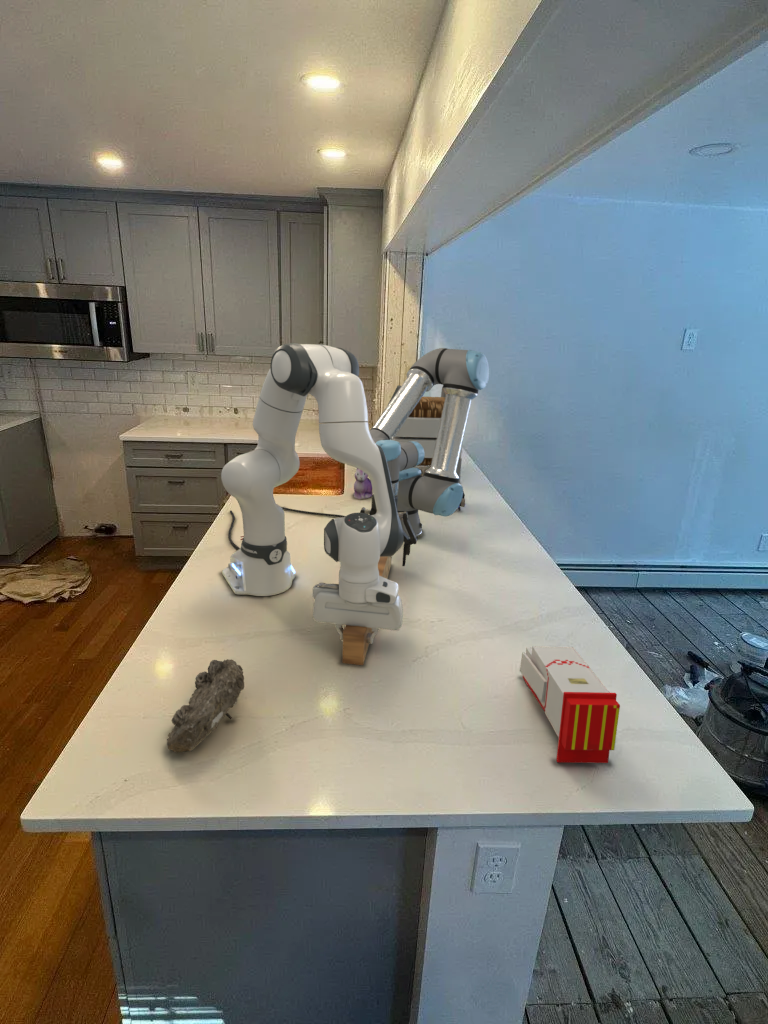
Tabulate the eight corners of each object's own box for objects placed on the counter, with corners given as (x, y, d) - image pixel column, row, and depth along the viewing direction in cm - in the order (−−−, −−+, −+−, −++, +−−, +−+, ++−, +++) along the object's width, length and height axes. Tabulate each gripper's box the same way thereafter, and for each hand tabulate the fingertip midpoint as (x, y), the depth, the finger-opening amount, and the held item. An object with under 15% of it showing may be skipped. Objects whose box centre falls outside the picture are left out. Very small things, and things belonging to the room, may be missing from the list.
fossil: (192, 660, 117) (244, 628, 112) (224, 691, 120) (276, 661, 115) (142, 746, 98) (202, 712, 93) (182, 779, 101) (242, 748, 96)
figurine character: (465, 515, 224) (460, 499, 237) (467, 498, 221) (462, 483, 234) (448, 515, 224) (444, 499, 237) (450, 498, 220) (445, 482, 234)
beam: (376, 563, 176) (376, 540, 173) (391, 565, 175) (392, 542, 173) (342, 663, 126) (342, 632, 124) (363, 665, 126) (364, 635, 123)
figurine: (357, 501, 231) (358, 465, 226) (347, 493, 240) (348, 459, 235) (378, 498, 235) (379, 463, 230) (367, 491, 244) (368, 457, 239)
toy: (568, 628, 125) (630, 701, 96) (562, 684, 128) (620, 770, 99) (514, 627, 125) (559, 699, 96) (509, 683, 128) (551, 770, 98)
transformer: (382, 463, 289) (386, 382, 275) (445, 464, 293) (451, 384, 279) (390, 482, 257) (394, 392, 243) (460, 483, 261) (468, 394, 247)
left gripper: (308, 588, 123) (309, 643, 128) (402, 597, 121) (399, 653, 125) (315, 575, 129) (315, 628, 134) (405, 584, 127) (402, 637, 131)
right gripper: (339, 494, 161) (338, 563, 168) (427, 502, 158) (422, 571, 165) (344, 487, 168) (342, 553, 175) (429, 494, 165) (423, 561, 172)
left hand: (357, 640), depth 130 cm, fingers closed on beam, 5 cm apart
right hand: (381, 562), depth 170 cm, fingers open, 13 cm apart
